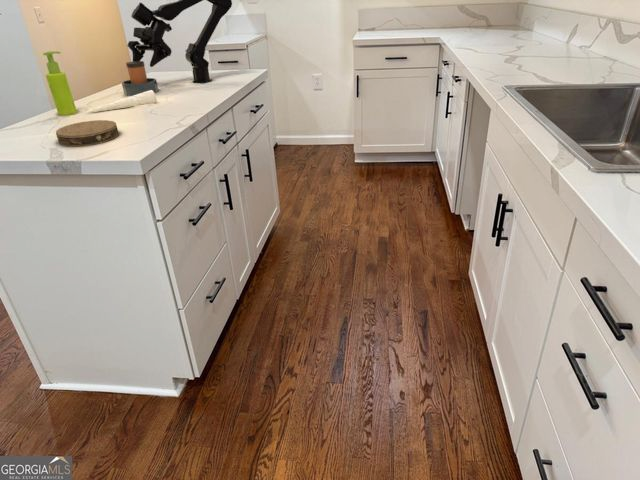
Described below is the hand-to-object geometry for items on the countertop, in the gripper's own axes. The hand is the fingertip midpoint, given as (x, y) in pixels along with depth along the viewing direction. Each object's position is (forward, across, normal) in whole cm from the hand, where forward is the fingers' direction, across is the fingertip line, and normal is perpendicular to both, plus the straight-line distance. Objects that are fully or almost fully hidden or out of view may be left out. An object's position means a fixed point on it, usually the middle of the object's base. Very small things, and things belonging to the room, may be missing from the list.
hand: (142, 66), depth 180 cm
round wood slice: (+47, +32, -32) cm, 66 cm away
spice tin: (+9, 0, +4) cm, 10 cm away
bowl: (+10, 0, +5) cm, 11 cm away
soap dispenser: (+33, -2, -18) cm, 38 cm away
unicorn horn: (+25, +13, -10) cm, 30 cm away
